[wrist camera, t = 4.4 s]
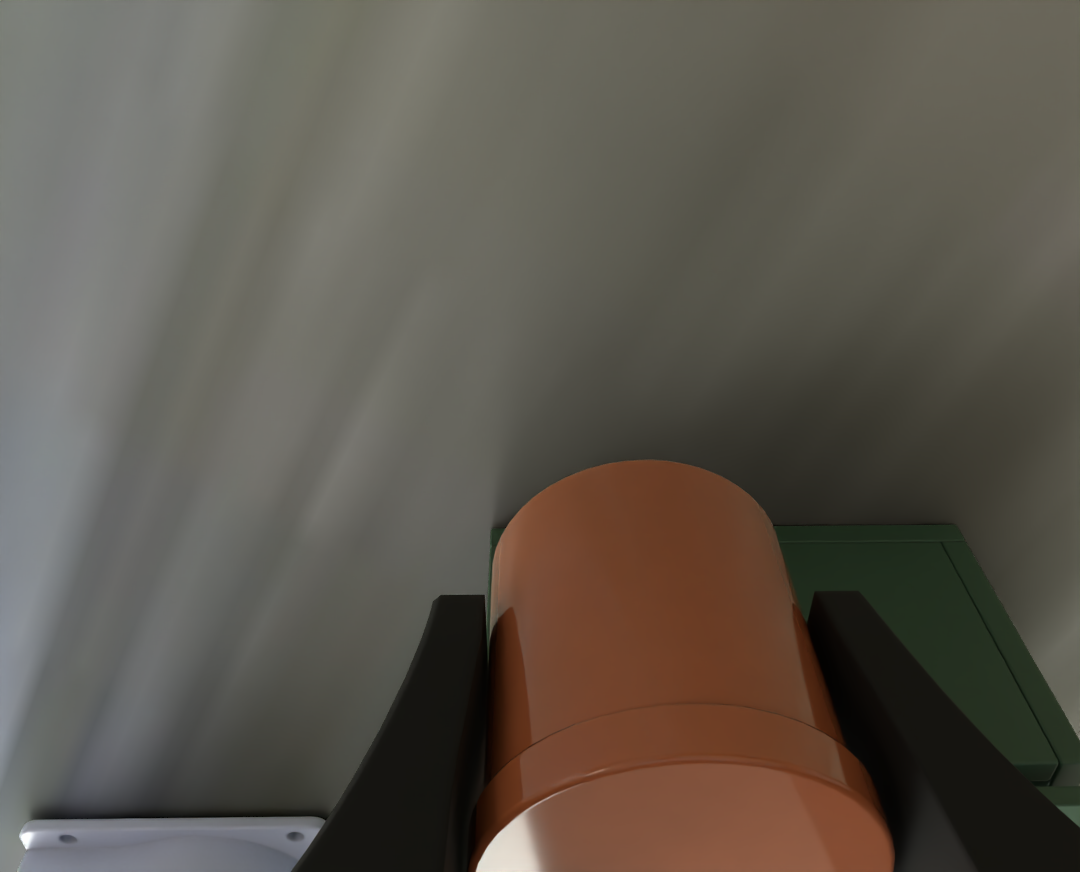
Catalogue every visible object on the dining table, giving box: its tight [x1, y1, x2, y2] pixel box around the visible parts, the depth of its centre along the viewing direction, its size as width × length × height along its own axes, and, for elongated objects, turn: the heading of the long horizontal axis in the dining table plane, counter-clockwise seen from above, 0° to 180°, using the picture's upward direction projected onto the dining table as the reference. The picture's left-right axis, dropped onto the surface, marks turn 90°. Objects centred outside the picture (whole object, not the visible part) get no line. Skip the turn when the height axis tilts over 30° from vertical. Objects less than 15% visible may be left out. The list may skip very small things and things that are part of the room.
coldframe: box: [486, 525, 1080, 827], centre depth 23 cm, size 13×11×7 cm
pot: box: [467, 459, 895, 872], centre depth 12 cm, size 5×5×5 cm
